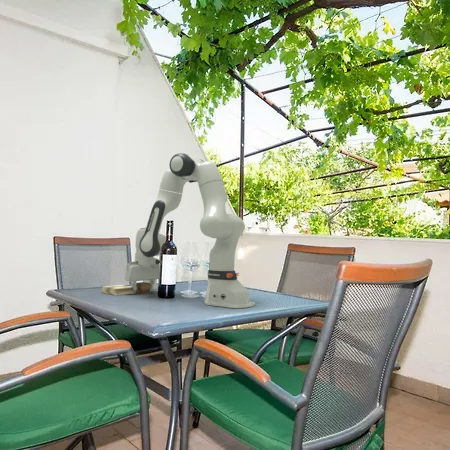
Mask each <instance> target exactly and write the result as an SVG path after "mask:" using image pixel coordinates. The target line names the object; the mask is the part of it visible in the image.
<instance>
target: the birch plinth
mask: <svg viewBox="0 0 450 450" xmlns="http://www.w3.org/2000/svg"><path fill="white" fill-rule="evenodd" d="M101 293H102V294H105V295H106V294H107V295H112V296H124V295H131V294H132V295H133V294H136V291H134V290H133V286H131V285H125V284H115V285H106V286H105V285H103V286H101Z"/></svg>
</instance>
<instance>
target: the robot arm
mask: <svg viewBox="0 0 450 450" xmlns="http://www.w3.org/2000/svg"><path fill="white" fill-rule="evenodd" d="M186 183H190V184H191V183H198V184H197V185H198V188H199V191H200V192H199V193H200V195H201V199H202V203H203V216H202V217H201V220H200V222H199V228H200V232H201V233H202V234H203V235H204V236H205V237H208V238H212V239H215V242H214V245H213V247H212V248H211V250H210V251H209V259H208V261H209V270H207V280H208V282H207V289H206V294H205V298H204V301H203V302H204V304H205V305H206V306H213V307H214V306H215V307H222V308H231V309H245V308H251V307H255V305H256V304H255V303H256V302H253V301H251V299H250V291H249V290H248V289H247V288H246V287H245V285H243V284H242V283H241V282H240V281H239V280H238V276H240V273H239V272H236V270H235V260H236V250H237V247H238V243H239V239H240V237H241V236H242V234H243V233H244V231H245V227H246V226H245V222H244V220H243V218H241V217H240V216H237V215H236V214H232V213H227V211H226V203H227V201H228V195H227V191H226V187H225V185H224V184H225V183H224V181H223V178H222V175H221V172H220V170H219V168H218V166H217V165H216V163H215V162H212V161H209V160H208V161H204V160H202V159H200V158H198V157H196V156H194V155H190V154H186V153H181V152H180V153H176V154H174V155H173V156H172V157H171V158H170V161H169V168H168V169H166V170H165V171H164V173H163V175H162V178H161V181H160V185H159V189H158V193H157V197H156V200H155V201H154V204H153V206H152V207H151V211H150V214H149V218H148V221H147V224H146V227H142V228H140V229H138V230H137V232H136V235H135V254H134V261H129V262H128V263H127V264H126V265H125V267H126V268H125V274H124V280H125V281H126V282H130V283H131V285H132V287H133V290H134V291H135V292H136V291H137V290H138V287H137V286H136V283H138V282H143V280H150V281H151V289H153V285H154V283H155V279H157V280H160V279H159V263H160V260H161V259H158V258H156V257H155V256H157V257H158V256H161V255H160V249H161V246H162V244H163V243H164V242H165V241H166V236H167V235H165V234H162V233H160V230H161V228H162V224H163V220H164V218H166V216H167V215H168V214H169V213H170V212H173V211H175V210H176V209H177V208H178V207H179V206H180V203H181V201H182V197H183V192H184V186H185V184H186Z"/></svg>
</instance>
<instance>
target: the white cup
mask: <svg viewBox="0 0 450 450" xmlns="http://www.w3.org/2000/svg"><path fill="white" fill-rule="evenodd" d="M142 282H147V283H151V281H150V280H143V281H142ZM157 285H158V279H155V283H154V285H153V289H154V290H156V289H157Z"/></svg>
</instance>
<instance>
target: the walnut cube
mask: <svg viewBox="0 0 450 450" xmlns="http://www.w3.org/2000/svg"><path fill="white" fill-rule="evenodd" d="M135 284H136V286H137V287H138V290H137V291H135V294H138V293H139V295H148V294H151V283H147V282H143V281H138V282H136V283H135ZM147 293H148V294H147Z"/></svg>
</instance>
